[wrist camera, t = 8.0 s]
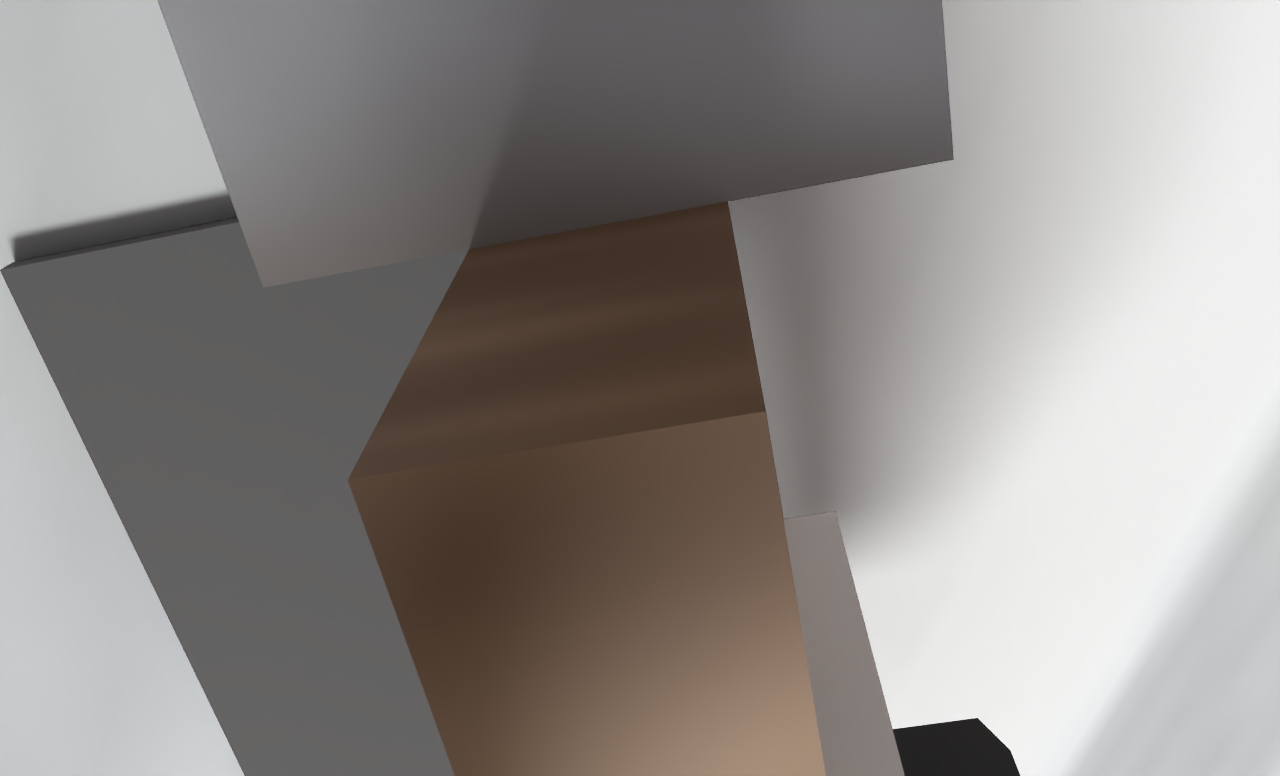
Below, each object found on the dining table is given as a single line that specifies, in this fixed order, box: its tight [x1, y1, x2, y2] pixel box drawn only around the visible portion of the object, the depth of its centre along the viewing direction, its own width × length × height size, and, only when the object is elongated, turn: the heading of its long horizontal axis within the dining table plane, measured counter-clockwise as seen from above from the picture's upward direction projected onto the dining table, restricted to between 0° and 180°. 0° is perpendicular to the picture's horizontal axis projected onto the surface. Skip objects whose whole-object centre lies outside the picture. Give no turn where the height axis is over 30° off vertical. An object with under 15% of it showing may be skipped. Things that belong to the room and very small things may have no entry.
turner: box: [158, 0, 954, 776], centre depth 11 cm, size 24×8×6 cm, turn 11°
